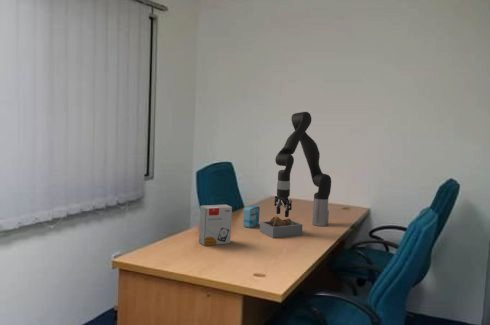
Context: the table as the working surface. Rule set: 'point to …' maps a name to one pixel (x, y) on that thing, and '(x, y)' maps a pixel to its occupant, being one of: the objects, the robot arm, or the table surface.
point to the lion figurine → (280, 221)
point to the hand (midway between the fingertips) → (282, 215)
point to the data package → (251, 216)
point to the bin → (280, 229)
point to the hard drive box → (215, 224)
